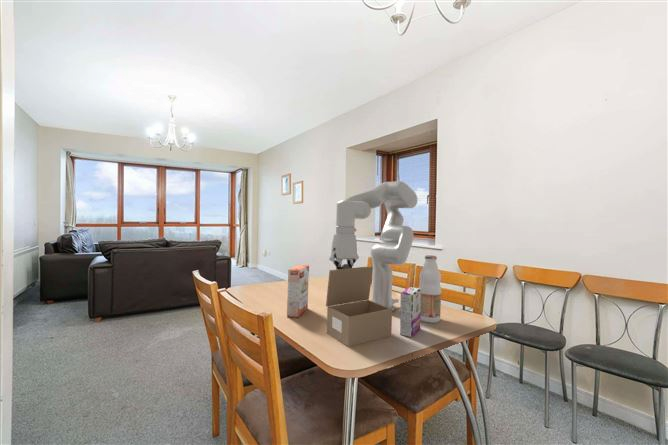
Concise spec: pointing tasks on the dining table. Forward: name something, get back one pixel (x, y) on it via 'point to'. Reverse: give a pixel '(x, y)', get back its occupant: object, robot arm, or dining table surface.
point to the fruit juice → (430, 290)
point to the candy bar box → (410, 311)
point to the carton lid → (348, 285)
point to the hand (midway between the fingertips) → (344, 275)
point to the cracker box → (297, 290)
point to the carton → (359, 322)
